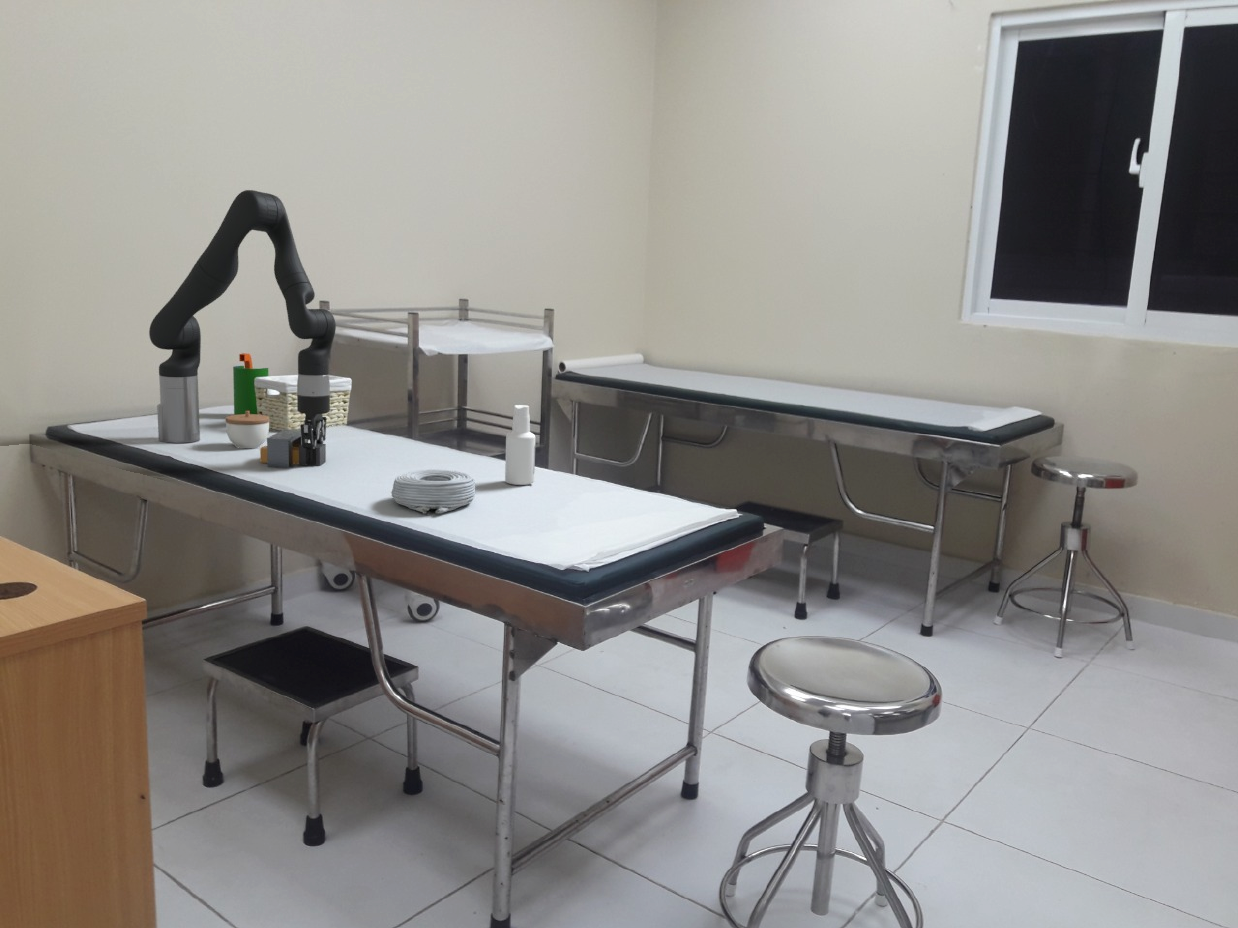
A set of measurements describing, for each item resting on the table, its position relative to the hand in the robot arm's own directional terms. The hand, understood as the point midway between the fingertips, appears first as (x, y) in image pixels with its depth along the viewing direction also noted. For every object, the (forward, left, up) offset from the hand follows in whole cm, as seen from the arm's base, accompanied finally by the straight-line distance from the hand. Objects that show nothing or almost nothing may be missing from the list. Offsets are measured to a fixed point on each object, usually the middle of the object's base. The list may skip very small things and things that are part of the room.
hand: (314, 461), depth 240 cm
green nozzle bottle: (-36, +62, -1) cm, 71 cm away
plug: (0, 0, 0) cm, 1 cm away
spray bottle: (+51, -11, -1) cm, 52 cm away
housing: (-7, 0, 0) cm, 7 cm away
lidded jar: (-22, +18, -1) cm, 28 cm away
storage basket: (-18, +52, -1) cm, 55 cm away
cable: (+34, -33, -1) cm, 48 cm away
